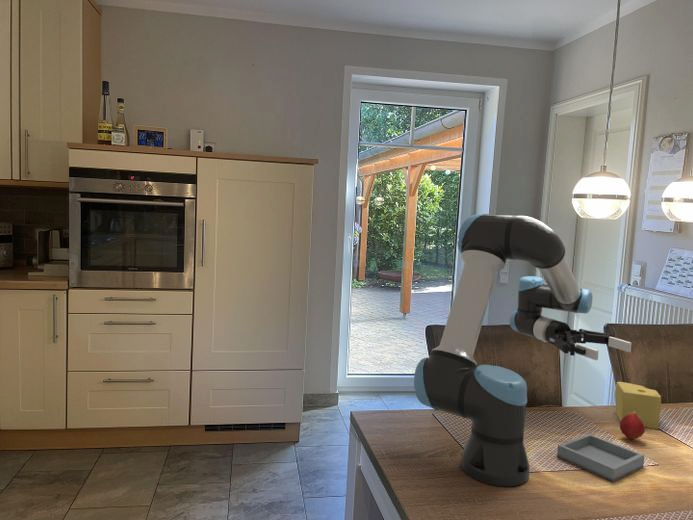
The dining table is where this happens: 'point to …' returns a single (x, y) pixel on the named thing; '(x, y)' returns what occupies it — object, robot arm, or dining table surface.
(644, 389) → the cheese
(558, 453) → the tray
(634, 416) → the onion
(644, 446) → the dining table surface
